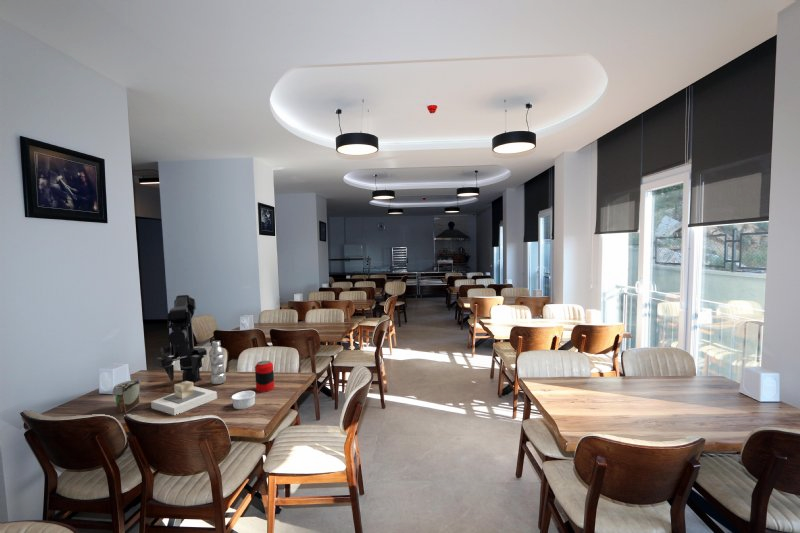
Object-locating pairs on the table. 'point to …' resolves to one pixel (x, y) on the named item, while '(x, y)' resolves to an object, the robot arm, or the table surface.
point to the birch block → (184, 389)
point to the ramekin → (243, 399)
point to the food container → (127, 395)
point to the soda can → (264, 376)
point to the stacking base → (183, 401)
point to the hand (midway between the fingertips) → (183, 377)
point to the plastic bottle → (217, 363)
